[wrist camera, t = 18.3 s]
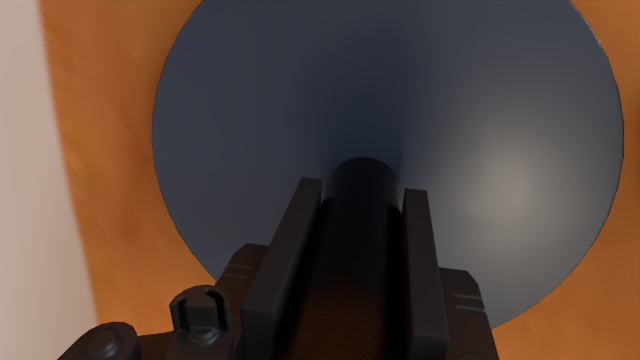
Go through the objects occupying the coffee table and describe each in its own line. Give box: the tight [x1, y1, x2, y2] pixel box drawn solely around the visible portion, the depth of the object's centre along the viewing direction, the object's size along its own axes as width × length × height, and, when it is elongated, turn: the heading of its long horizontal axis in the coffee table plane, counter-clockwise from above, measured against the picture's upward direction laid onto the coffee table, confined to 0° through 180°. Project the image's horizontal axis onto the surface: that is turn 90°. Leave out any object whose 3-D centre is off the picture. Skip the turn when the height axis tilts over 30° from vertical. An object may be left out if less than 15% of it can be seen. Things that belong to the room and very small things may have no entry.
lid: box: [152, 0, 624, 360], centre depth 13 cm, size 19×19×11 cm
